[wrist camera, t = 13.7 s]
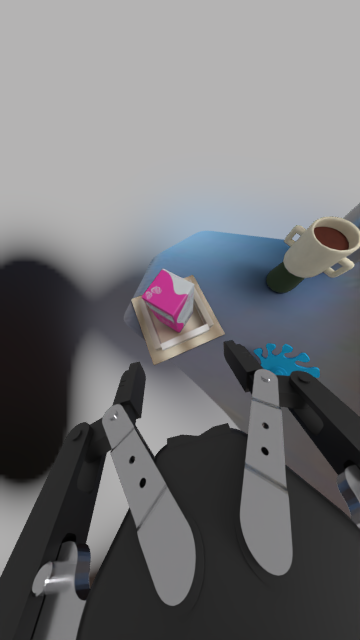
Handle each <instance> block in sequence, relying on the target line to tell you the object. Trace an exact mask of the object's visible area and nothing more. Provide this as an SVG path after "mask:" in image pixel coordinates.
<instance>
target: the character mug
mask: <svg viewBox="0 0 360 640" xmlns="http://www.w3.org/2000/svg"><path fill="white" fill-rule="evenodd" d="M296 233H297V234H299V235H300V238H299V239H298V240H297V241H296V242H295V241H294V240H292V237H293V236H294V235H295V234H296ZM284 242H285V243H286V244H287V245H288V246H290V248H289V250H288V251H287V252H286V253H285V256H284V260H283V262H282V263H280V264H279V265H278V266H276V267H275V268H274V269H273V270H272V271H270V273H269V274H268V275H267V280H266V281H267V284H268V286H269V287H270V288H271V289H272V290H273V291H276V292H279V293H285V292H288V291H291V290H292V289H293V288H295V287H296V286H297V285H298V284H299V283H300V282H301V281H302V280H303V279H304V278H308V277H313V276H316V275H318V274H320V273H322V272H324V273H325V274H326V275H328V276H329V277H331V278H334V277H337V276H339V275H341V274H343V273H345V272H346V271H348V270H350V269H352V268H353V267H354V266H355V265H354V263H353V262H352V261H350V260H349V259H348V258H346V257H347V256H348V255H350V254H351V253H353V252H354V251H356V250H357V249H359V247H360V230H359V229H358V228H357V227H356V226H355V225H354V224H353V223H352V222H350V221H348V220H345V219H343V218H338V217H323V218H320V219H318V220H316V221H315V222H314V223H313V224H312V225H311V226H310V227H309V228H308V229H307V230H306V229H305V228H303V227H302V226H298V225H296V226H295V227H294V228H293V229H292V231H291V232H290V233H289V234H288V235H287V237H286V238H285V240H284ZM337 262H338V263H339V264H340V265H342V266H343V267H341V268H339V269H338V270H336V271H334V270H333V269H331V268H330V267H331V266H333V265H334V264H336V263H337Z"/></svg>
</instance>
